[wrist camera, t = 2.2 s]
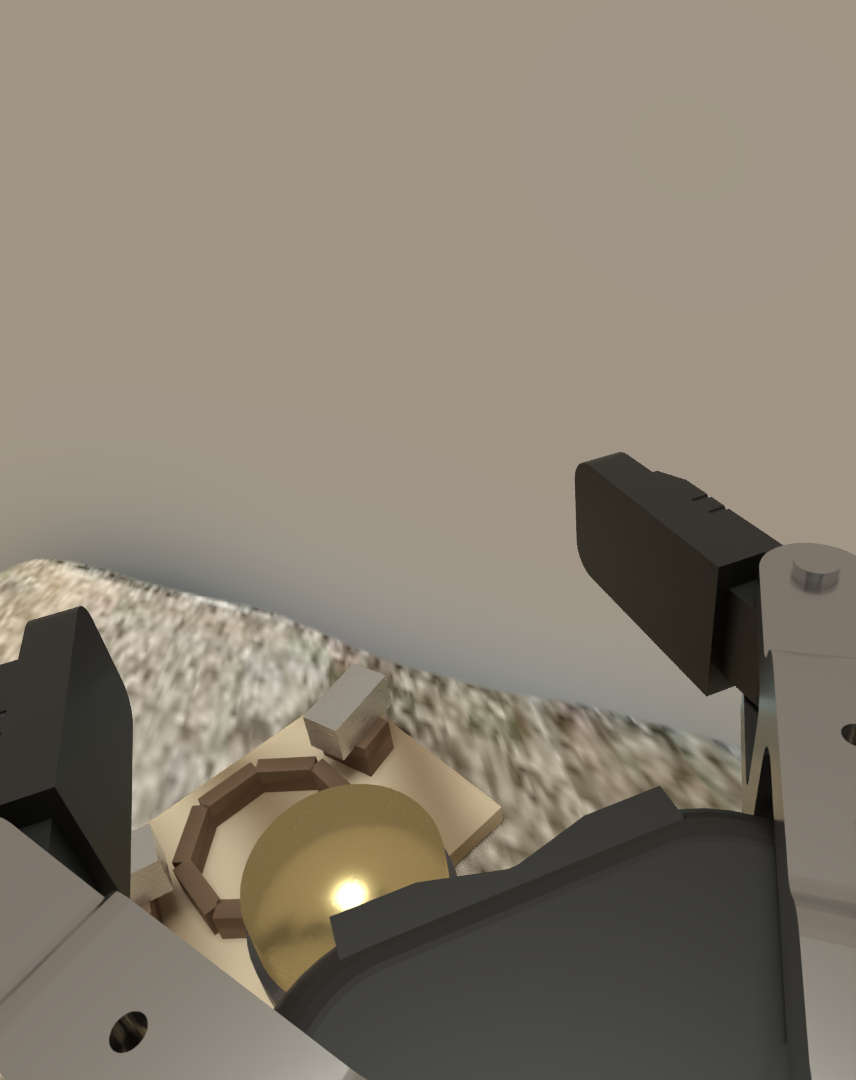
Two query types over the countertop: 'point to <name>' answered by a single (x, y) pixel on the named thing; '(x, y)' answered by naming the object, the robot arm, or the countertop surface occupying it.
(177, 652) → the countertop surface
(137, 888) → the pair of grey blocks
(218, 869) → the coupling base
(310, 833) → the cylinder
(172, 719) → the countertop surface
